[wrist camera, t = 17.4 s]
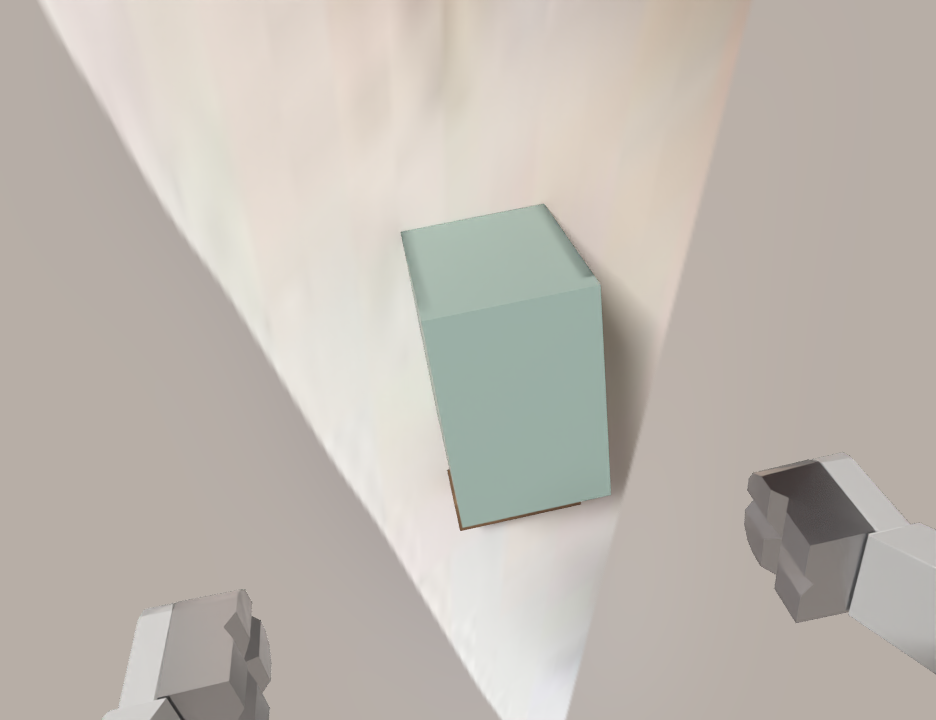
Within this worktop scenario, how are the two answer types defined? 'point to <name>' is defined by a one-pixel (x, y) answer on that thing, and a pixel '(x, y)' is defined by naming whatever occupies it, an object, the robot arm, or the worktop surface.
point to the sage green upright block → (513, 361)
